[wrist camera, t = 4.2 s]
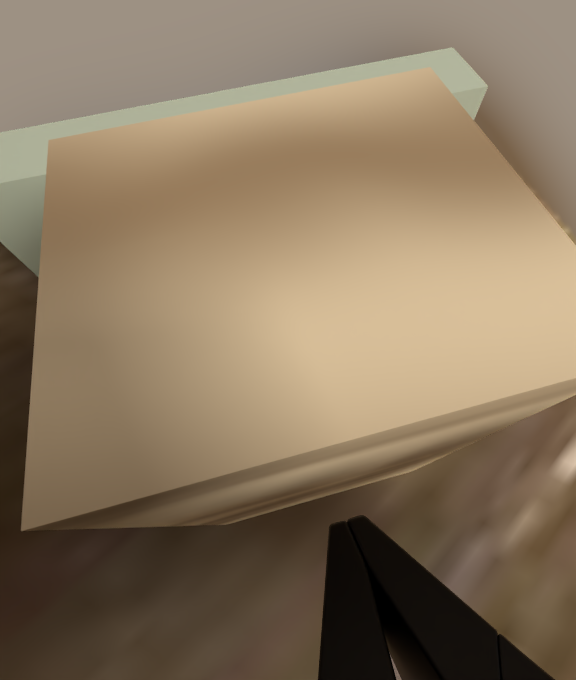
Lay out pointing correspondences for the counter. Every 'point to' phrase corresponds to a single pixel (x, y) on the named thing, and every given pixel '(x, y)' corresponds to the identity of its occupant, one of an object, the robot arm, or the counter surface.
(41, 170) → the green board
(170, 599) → the counter surface
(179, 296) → the maple block
